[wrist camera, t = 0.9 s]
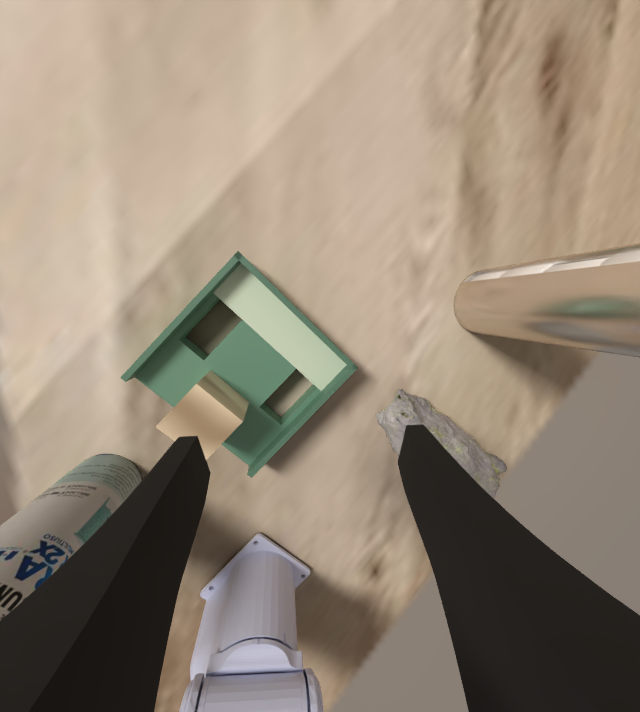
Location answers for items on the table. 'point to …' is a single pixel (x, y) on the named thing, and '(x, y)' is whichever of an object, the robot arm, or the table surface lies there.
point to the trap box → (247, 359)
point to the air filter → (559, 301)
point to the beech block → (206, 413)
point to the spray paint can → (60, 524)
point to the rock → (441, 437)
